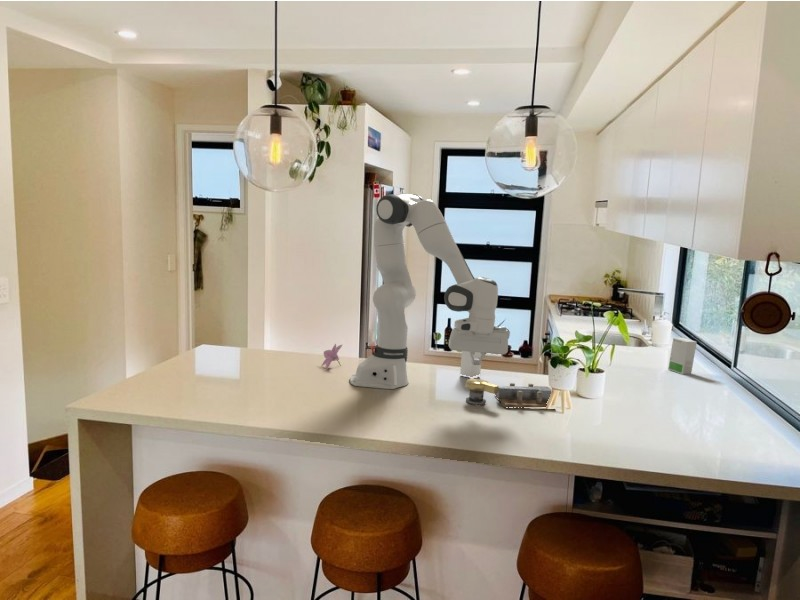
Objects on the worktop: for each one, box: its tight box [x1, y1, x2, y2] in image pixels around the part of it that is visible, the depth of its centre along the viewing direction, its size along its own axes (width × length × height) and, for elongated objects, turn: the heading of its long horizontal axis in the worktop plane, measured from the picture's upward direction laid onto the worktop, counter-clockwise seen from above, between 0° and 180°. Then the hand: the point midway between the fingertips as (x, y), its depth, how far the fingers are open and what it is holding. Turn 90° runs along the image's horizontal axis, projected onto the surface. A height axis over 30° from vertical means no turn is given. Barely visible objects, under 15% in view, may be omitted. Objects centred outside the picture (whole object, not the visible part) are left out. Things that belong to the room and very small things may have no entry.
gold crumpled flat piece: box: [465, 378, 499, 395], centre depth 199 cm, size 12×8×2 cm, turn 46°
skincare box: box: [667, 337, 698, 375], centre depth 265 cm, size 8×7×16 cm
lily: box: [321, 343, 343, 371], centre depth 237 cm, size 12×12×10 cm
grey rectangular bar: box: [495, 385, 552, 402], centre depth 203 cm, size 19×5×4 cm, turn 95°
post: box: [465, 389, 487, 406], centre depth 201 cm, size 7×7×5 cm
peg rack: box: [494, 382, 547, 409], centre depth 204 cm, size 18×14×6 cm
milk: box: [459, 351, 482, 377], centre depth 233 cm, size 6×6×22 cm
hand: (475, 364), depth 196 cm, fingers closed
